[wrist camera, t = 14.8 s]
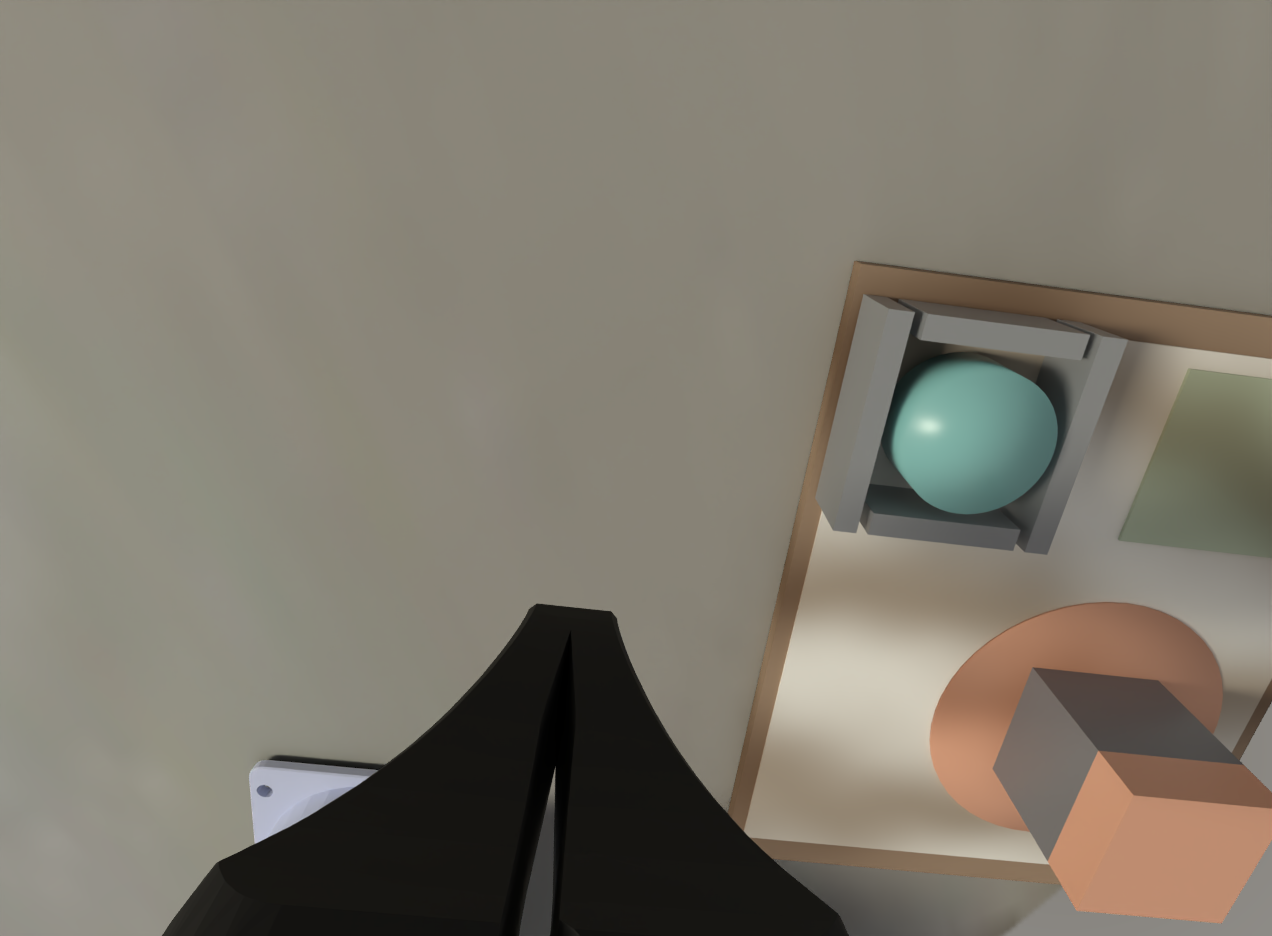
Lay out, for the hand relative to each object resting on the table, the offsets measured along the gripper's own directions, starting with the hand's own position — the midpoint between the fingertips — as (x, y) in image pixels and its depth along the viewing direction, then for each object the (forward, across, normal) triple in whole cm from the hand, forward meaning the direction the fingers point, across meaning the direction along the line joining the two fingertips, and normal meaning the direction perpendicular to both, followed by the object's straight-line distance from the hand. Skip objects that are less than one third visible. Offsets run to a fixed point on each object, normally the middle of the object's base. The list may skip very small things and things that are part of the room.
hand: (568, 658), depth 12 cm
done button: (+8, -9, -2) cm, 12 cm away
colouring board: (+9, -14, +4) cm, 17 cm away
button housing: (+9, -9, -2) cm, 13 cm away
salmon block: (+9, -16, +7) cm, 19 cm away
